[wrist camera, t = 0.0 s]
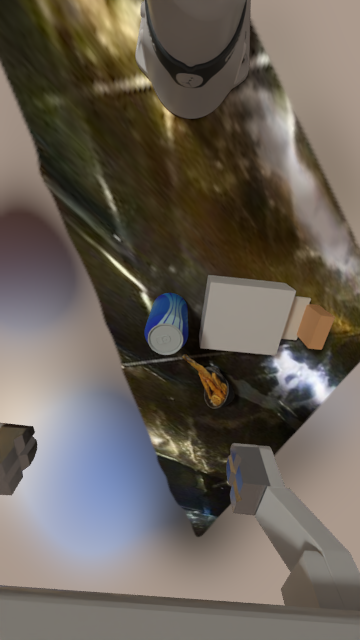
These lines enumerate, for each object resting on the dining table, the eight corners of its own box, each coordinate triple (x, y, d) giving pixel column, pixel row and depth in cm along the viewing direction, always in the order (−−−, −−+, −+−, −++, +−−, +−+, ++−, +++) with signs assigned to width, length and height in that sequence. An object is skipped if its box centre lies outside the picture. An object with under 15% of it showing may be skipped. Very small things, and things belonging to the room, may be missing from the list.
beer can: (161, 285, 57) (153, 311, 42) (193, 299, 58) (196, 330, 44) (147, 315, 60) (136, 349, 46) (178, 328, 61) (176, 365, 47)
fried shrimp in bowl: (219, 415, 68) (168, 402, 58) (216, 377, 74) (169, 361, 65) (246, 408, 62) (193, 392, 53) (240, 368, 68) (192, 348, 59)
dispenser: (208, 275, 56) (210, 282, 50) (289, 283, 56) (300, 291, 51) (198, 335, 62) (200, 348, 57) (271, 343, 63) (279, 355, 57)
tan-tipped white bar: (224, 288, 56) (229, 299, 49) (320, 298, 56) (337, 310, 50) (216, 331, 60) (220, 345, 54) (305, 340, 61) (319, 355, 54)
